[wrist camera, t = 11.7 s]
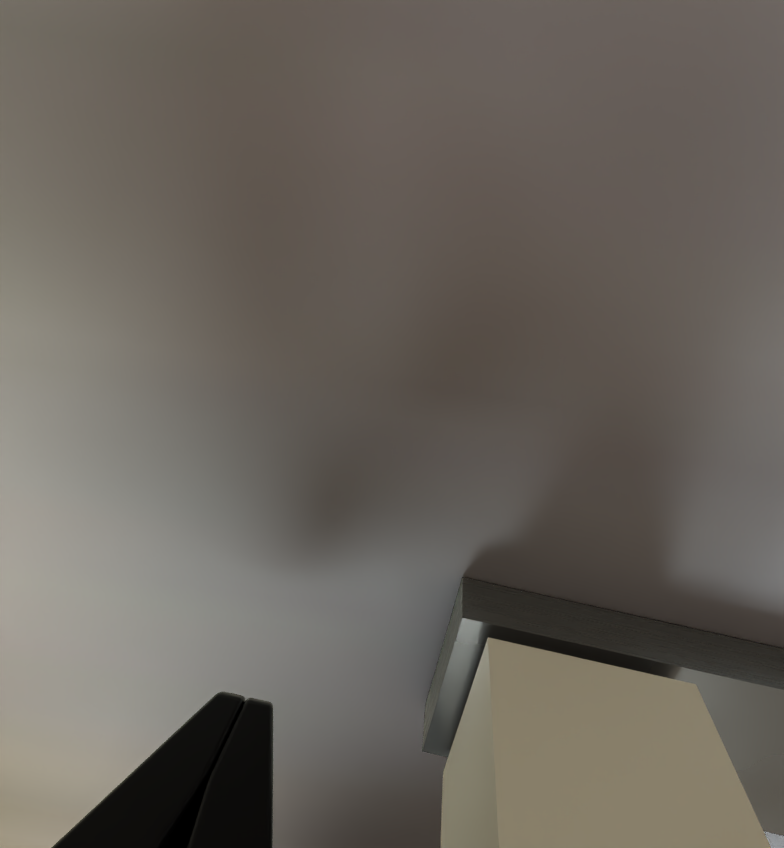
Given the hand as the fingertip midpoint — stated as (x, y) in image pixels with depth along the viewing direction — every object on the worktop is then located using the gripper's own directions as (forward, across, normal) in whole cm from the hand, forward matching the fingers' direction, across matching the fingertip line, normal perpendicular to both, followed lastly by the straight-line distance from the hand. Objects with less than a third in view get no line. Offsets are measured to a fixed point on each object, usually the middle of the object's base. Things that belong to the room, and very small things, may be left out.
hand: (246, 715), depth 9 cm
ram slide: (+1, -5, 0) cm, 5 cm away
